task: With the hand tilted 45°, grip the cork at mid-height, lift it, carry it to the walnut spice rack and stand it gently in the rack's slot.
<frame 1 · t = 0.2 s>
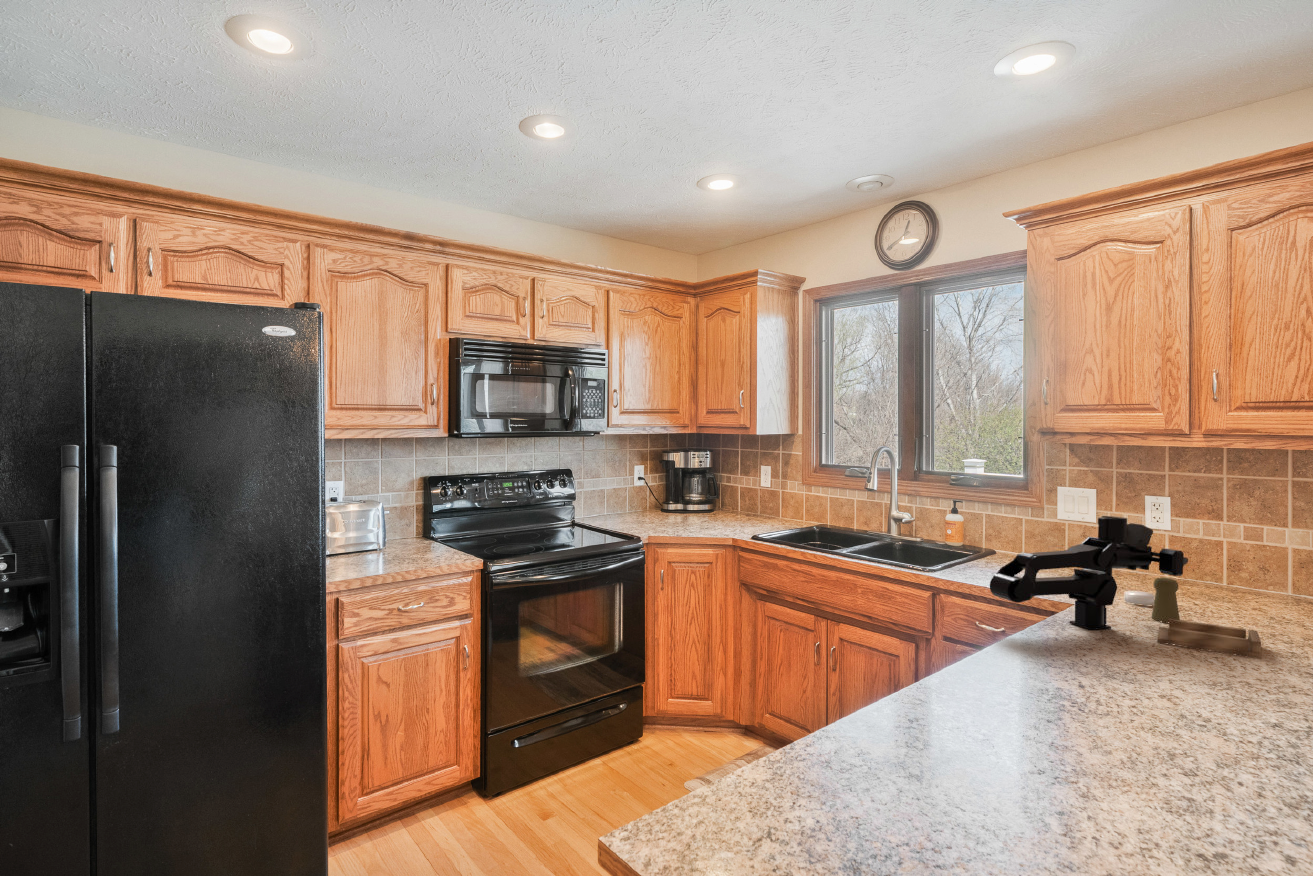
hand: (1169, 556, 175), 17 cm above the worktop, tool horizontal, fingers open, 9 cm apart
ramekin: (1139, 604, 193), on the worktop
cork: (1165, 621, 175), on the worktop
rack: (1206, 644, 155), on the worktop
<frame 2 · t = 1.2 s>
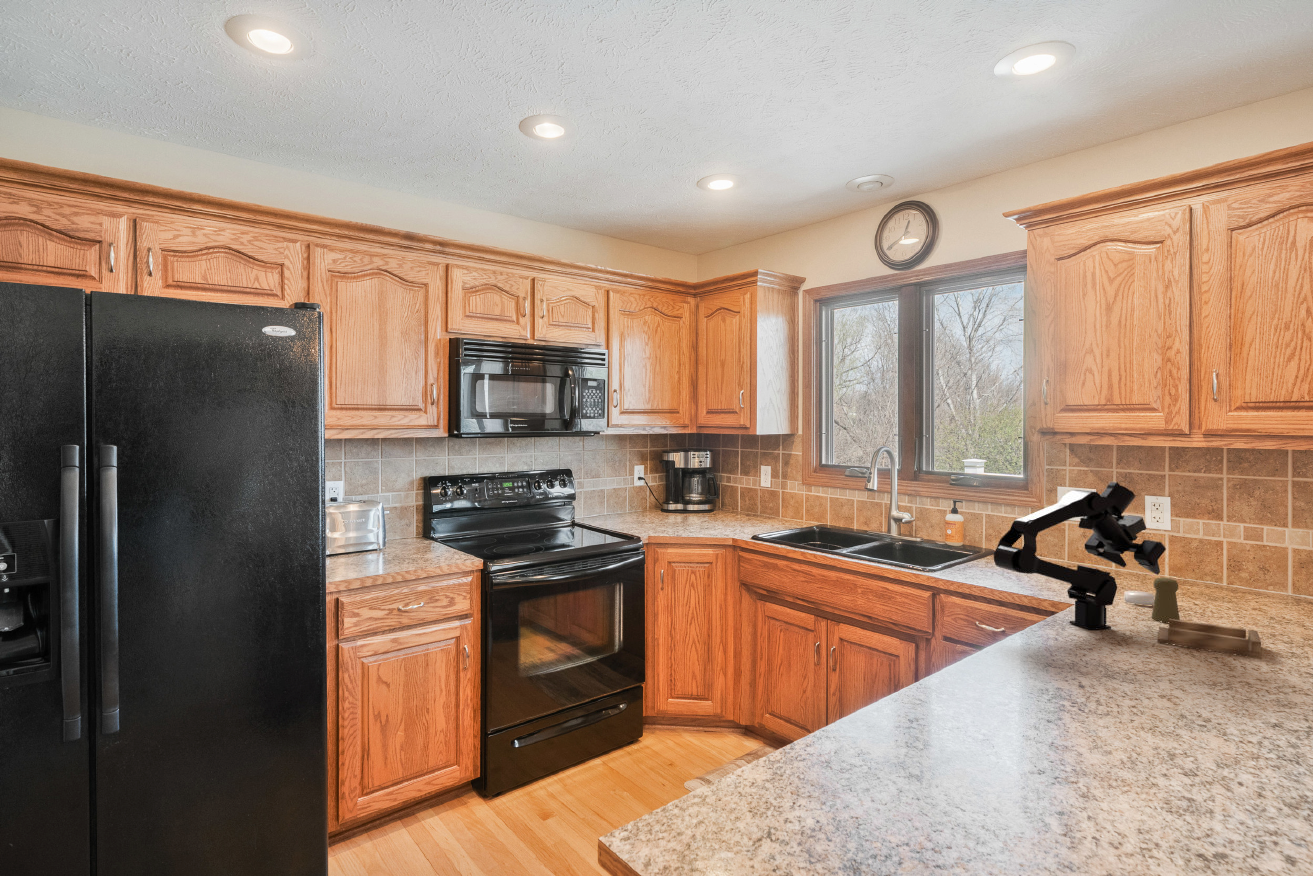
hand: (1141, 569, 173), 14 cm above the worktop, tool tilted 45°, fingers open, 9 cm apart
nothing on the worktop moved.
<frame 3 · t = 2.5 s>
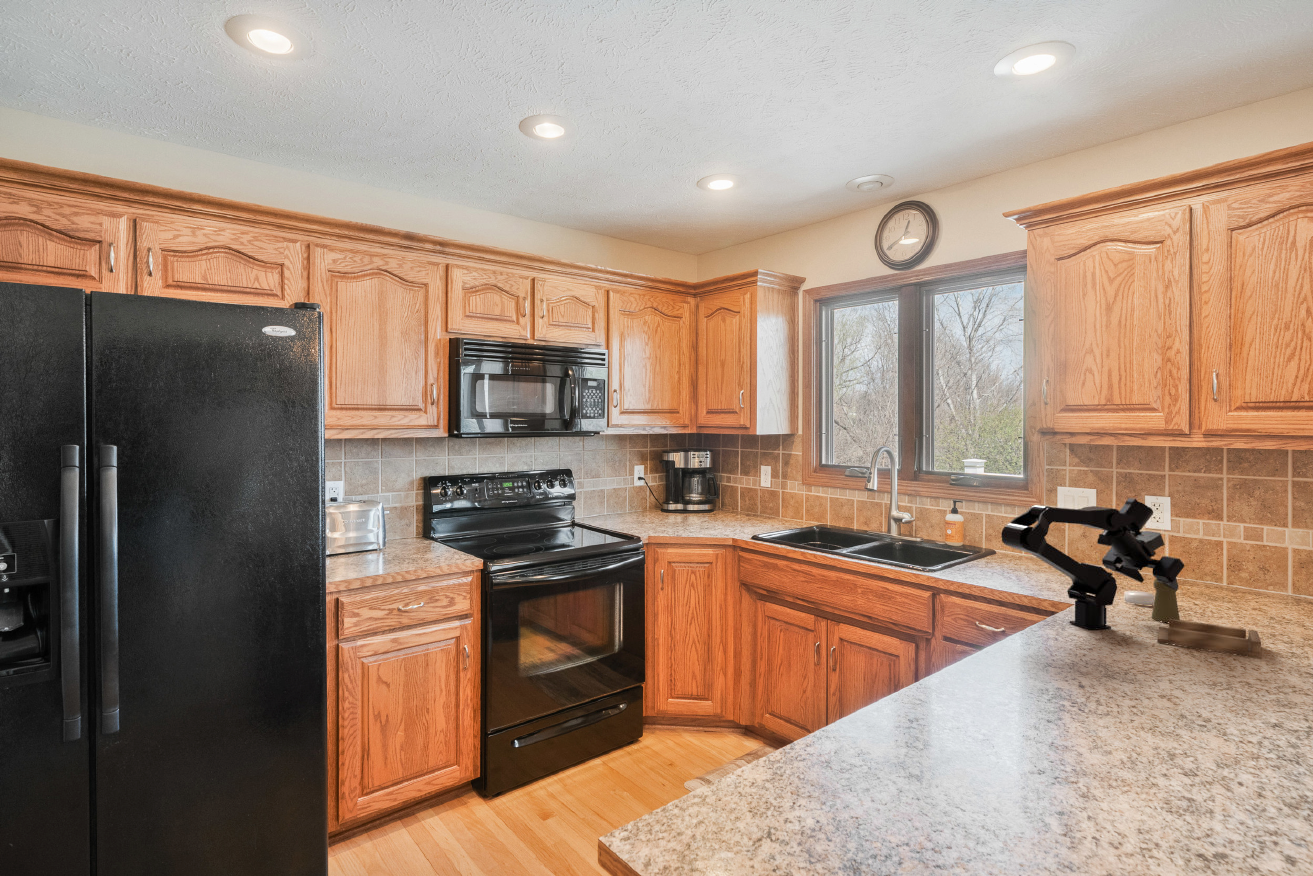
hand: (1159, 585, 175), 9 cm above the worktop, tool tilted 45°, fingers open, 9 cm apart
nothing on the worktop moved.
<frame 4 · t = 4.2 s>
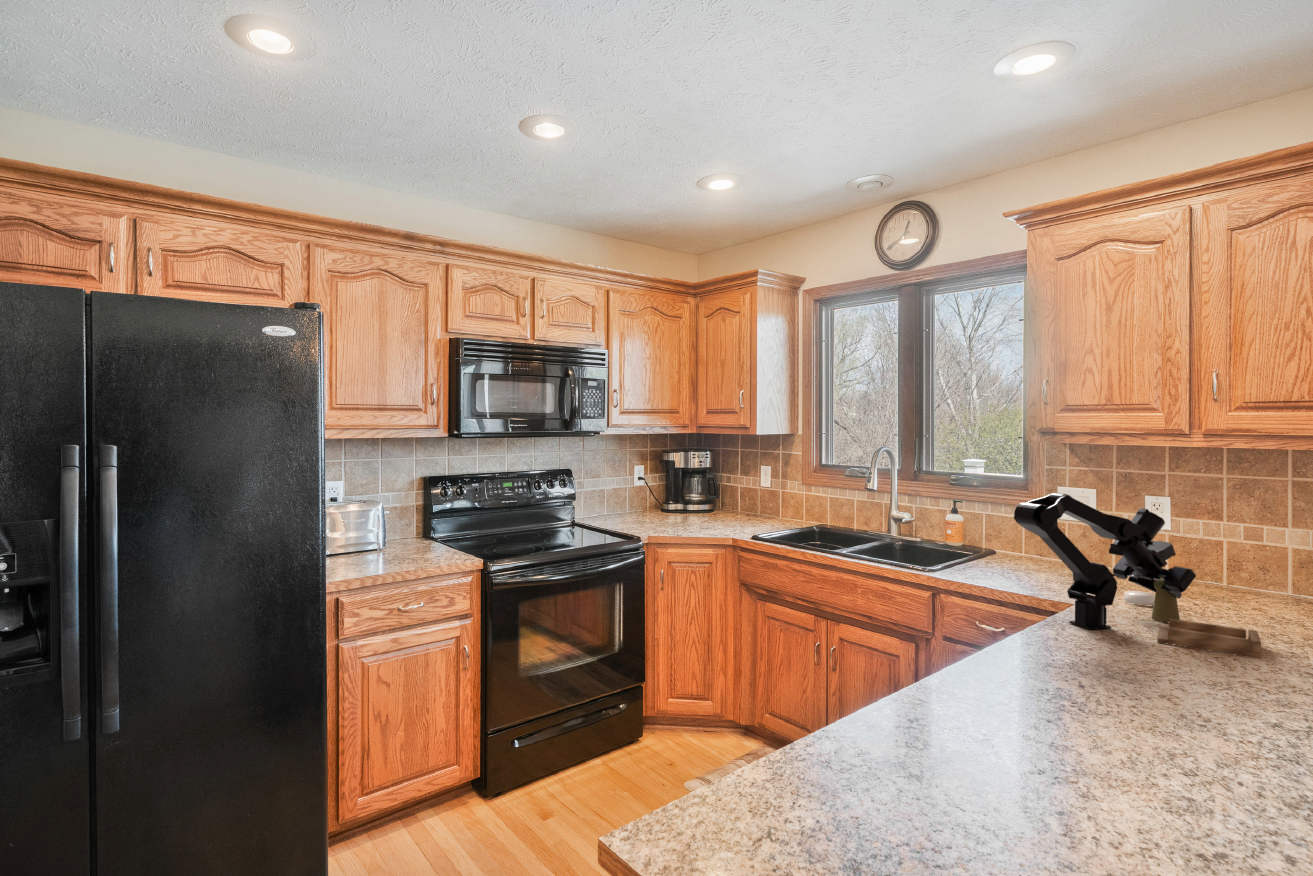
hand: (1170, 594, 175), 7 cm above the worktop, tool tilted 45°, fingers closed on cork, 5 cm apart
cork: (1165, 621, 175), on the worktop, touching gripper
everything else where it was.
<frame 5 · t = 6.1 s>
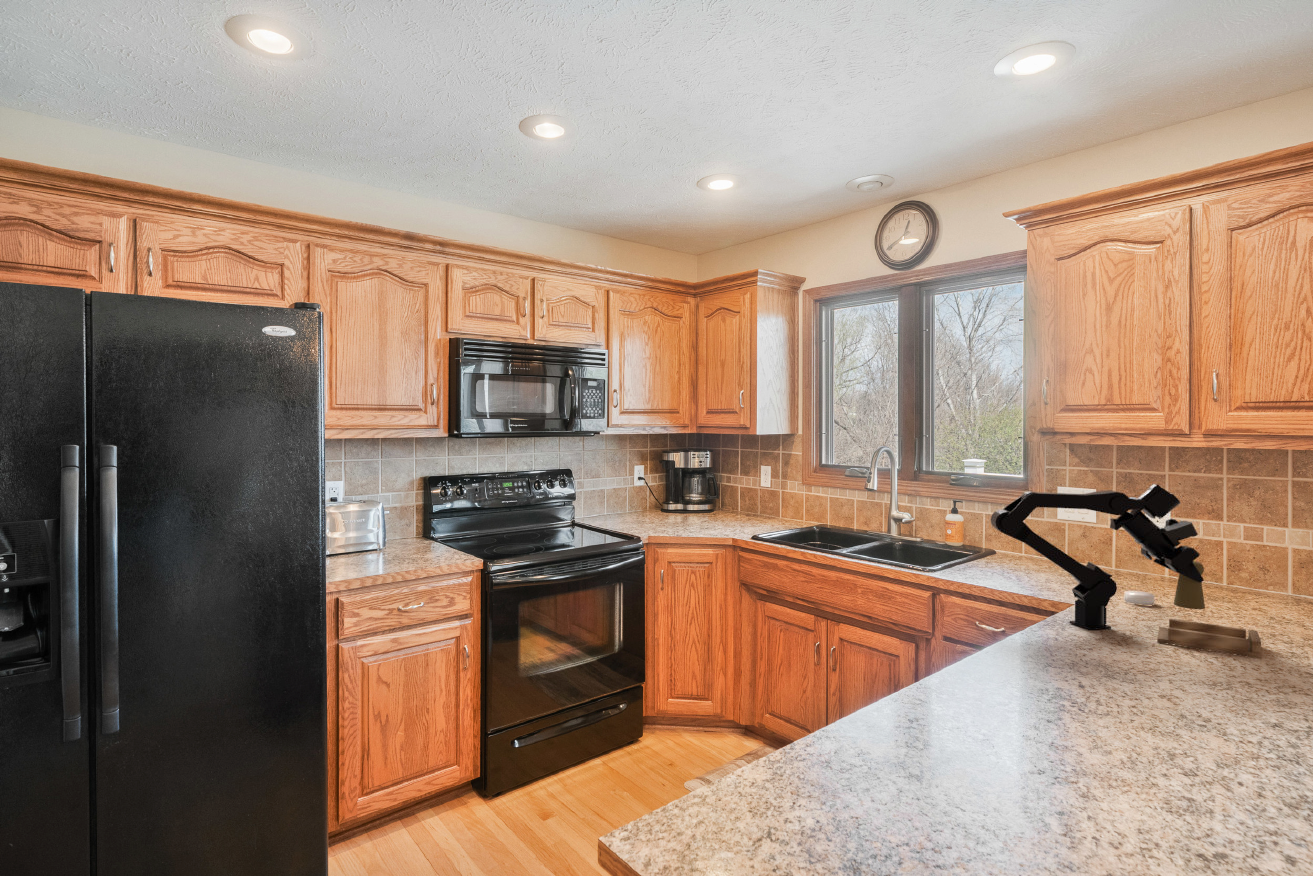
hand: (1196, 579, 163), 13 cm above the worktop, tool tilted 45°, fingers closed on cork, 5 cm apart
cork: (1189, 606, 164), point 6 cm above the worktop, touching gripper
everything else where it was.
when the fingers open (8 cm above the worktop, at t = 8.2 s): cork stays where it is, resting on rack.
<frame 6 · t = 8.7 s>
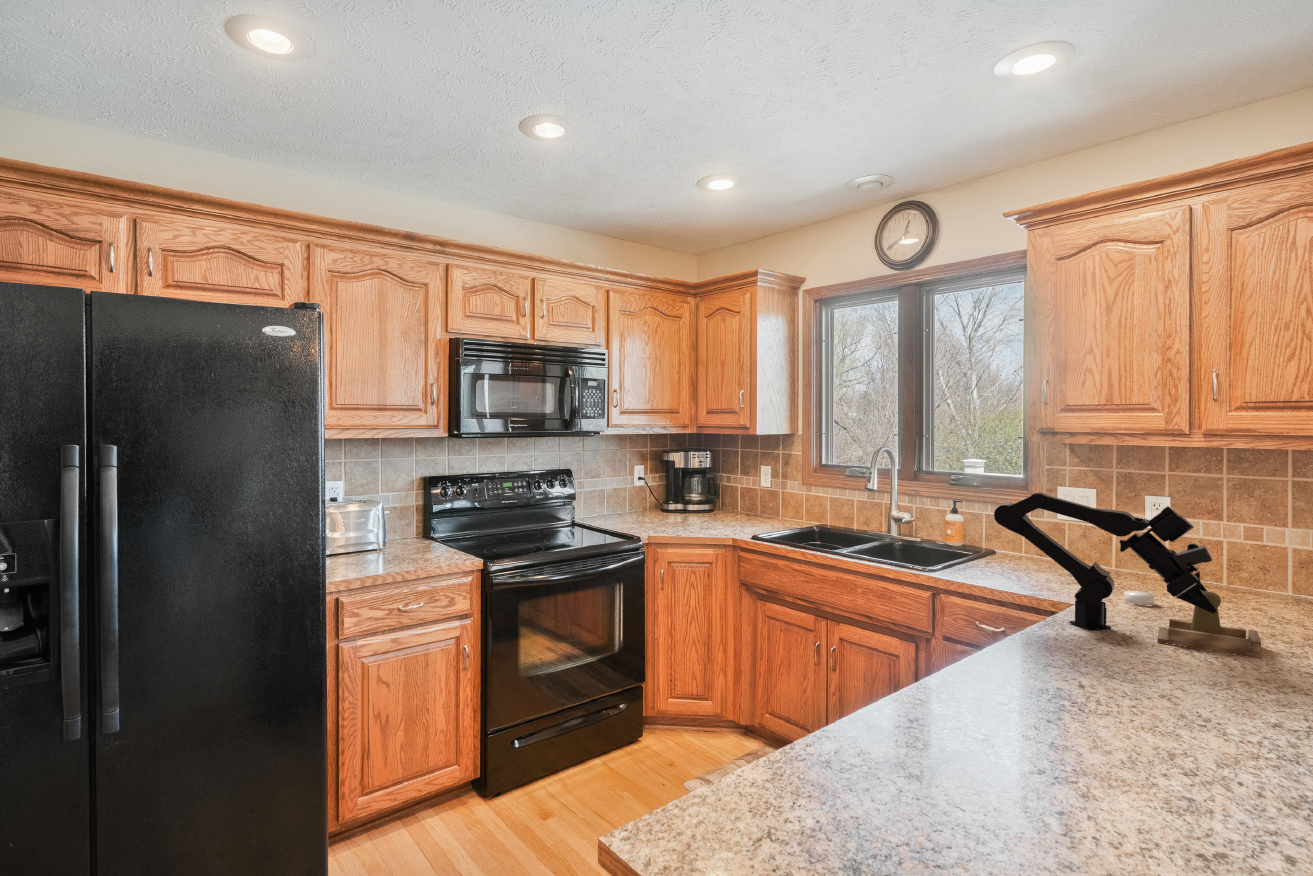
hand: (1214, 608, 154), 9 cm above the worktop, tool tilted 45°, fingers open, 9 cm apart
cork: (1205, 640, 156), point 1 cm above the worktop, touching rack
everything else where it was.
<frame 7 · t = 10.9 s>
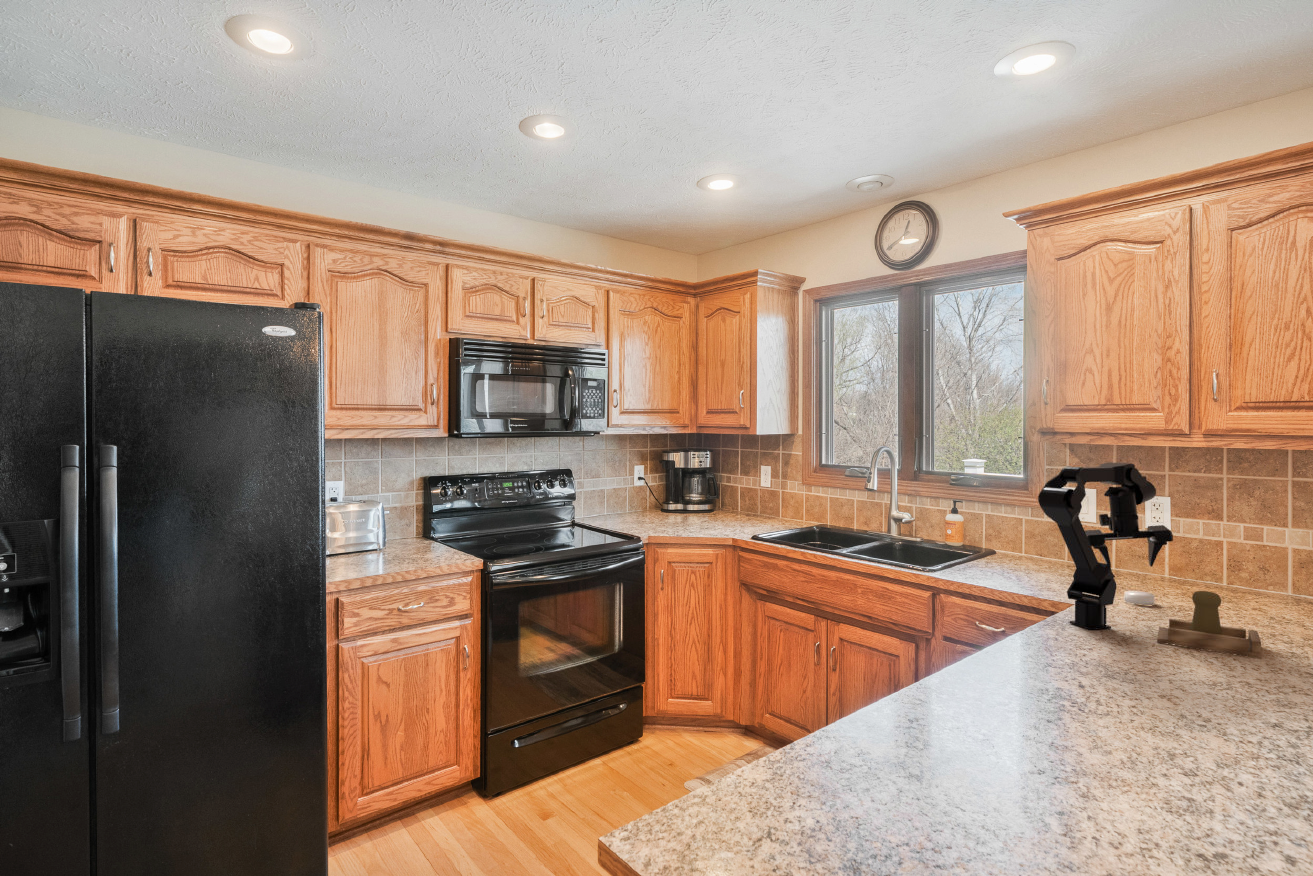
hand: (1130, 567, 177), 13 cm above the worktop, tool pointing down, fingers open, 9 cm apart
nothing on the worktop moved.
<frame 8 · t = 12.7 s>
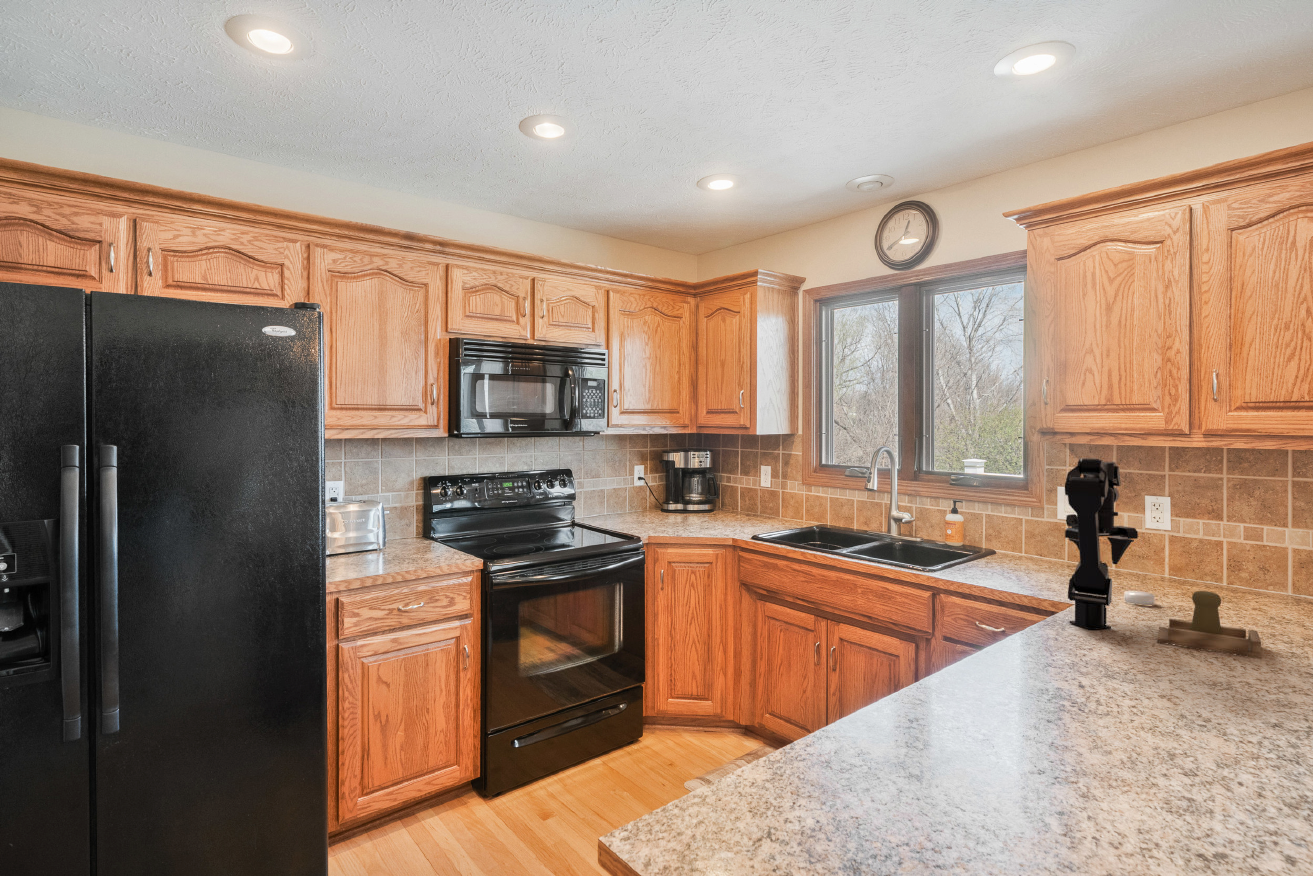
hand: (1100, 564, 183), 13 cm above the worktop, tool pointing down, fingers open, 9 cm apart
nothing on the worktop moved.
at the end: cork 0.3 cm from the rack (horizontally); cork tilted 0°; the gripper is holding nothing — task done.
